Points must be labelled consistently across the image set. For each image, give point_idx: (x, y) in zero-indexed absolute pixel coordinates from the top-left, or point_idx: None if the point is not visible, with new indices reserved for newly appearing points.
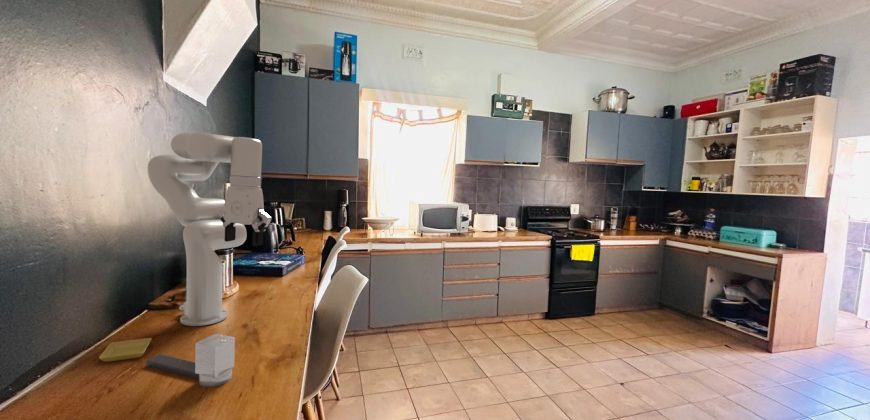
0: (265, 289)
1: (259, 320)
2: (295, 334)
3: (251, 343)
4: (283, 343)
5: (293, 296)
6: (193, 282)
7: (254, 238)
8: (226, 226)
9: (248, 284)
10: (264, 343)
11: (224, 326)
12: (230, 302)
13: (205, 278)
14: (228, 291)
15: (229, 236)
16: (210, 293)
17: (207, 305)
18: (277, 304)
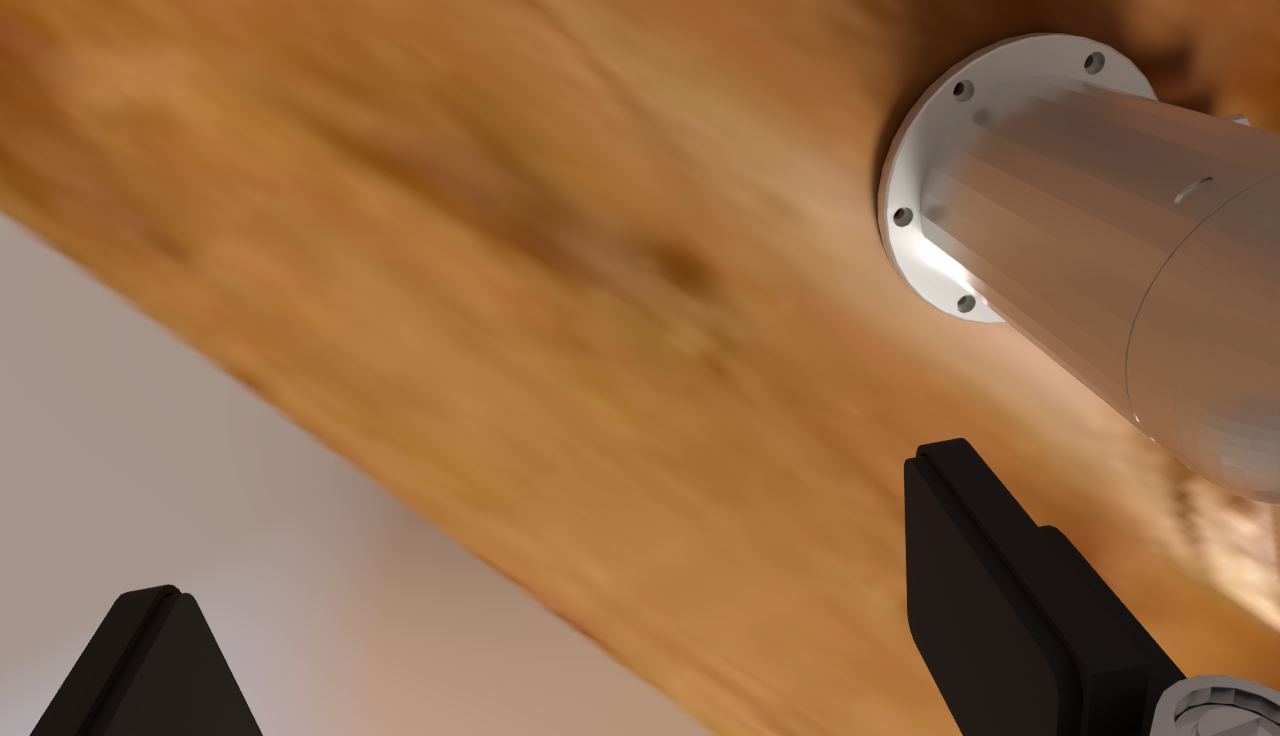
0: None
1: (679, 371)
2: (292, 367)
3: (389, 118)
4: (223, 238)
5: (828, 705)
6: (1215, 150)
7: (40, 727)
8: (1154, 728)
9: (1236, 668)
10: (321, 167)
11: (787, 183)
12: (1093, 439)
13: (1143, 235)
14: (1257, 536)
15: (943, 570)
16: (1028, 226)
17: (987, 177)
18: (805, 582)
